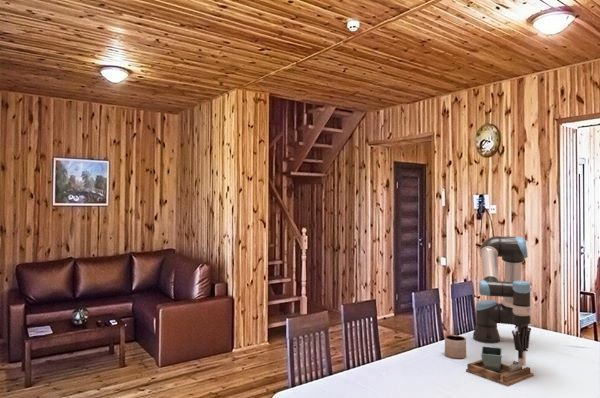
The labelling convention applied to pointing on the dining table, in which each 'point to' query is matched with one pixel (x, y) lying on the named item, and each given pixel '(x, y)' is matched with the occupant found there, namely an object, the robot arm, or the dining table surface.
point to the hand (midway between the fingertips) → (521, 364)
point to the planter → (455, 346)
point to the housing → (499, 373)
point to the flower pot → (491, 358)
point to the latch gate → (515, 366)
